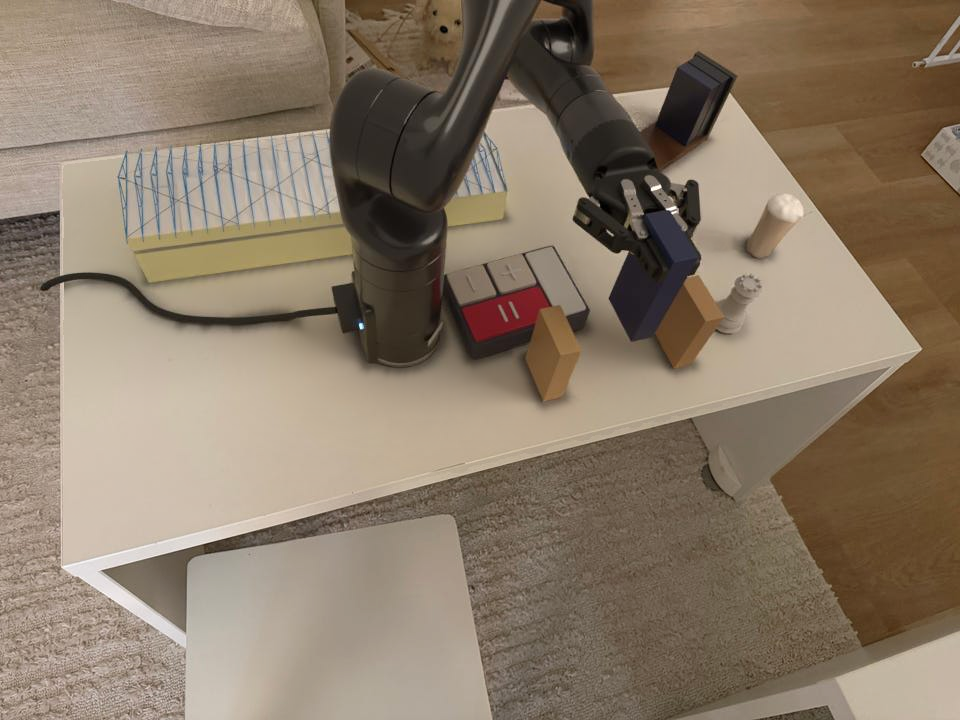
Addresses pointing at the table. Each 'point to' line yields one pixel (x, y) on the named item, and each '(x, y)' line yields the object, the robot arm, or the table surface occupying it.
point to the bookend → (689, 109)
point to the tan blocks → (676, 333)
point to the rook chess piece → (738, 303)
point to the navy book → (639, 294)
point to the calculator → (511, 299)
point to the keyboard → (259, 204)
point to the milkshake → (774, 224)
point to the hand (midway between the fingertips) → (678, 272)
